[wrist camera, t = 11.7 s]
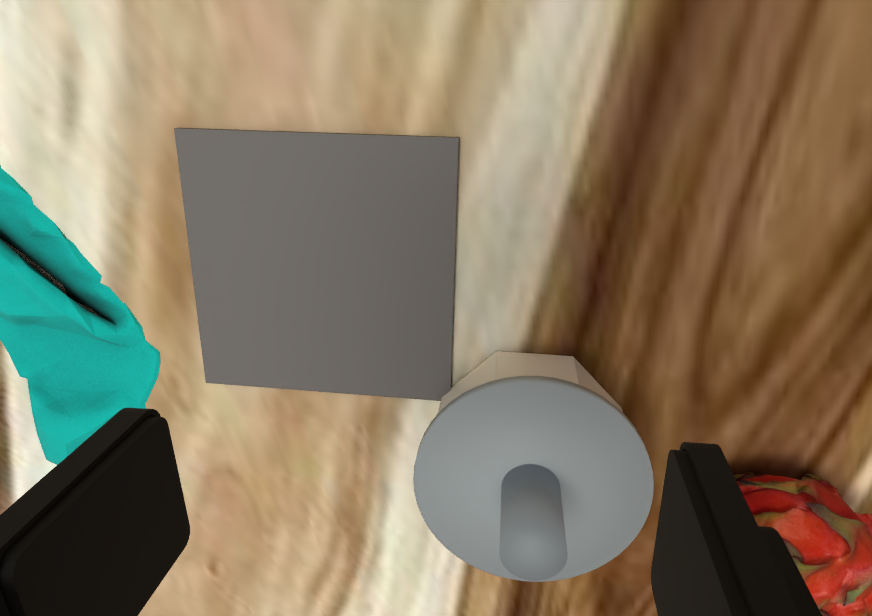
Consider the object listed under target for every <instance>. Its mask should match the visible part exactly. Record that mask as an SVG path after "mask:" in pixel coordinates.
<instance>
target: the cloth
mask: <svg viewBox="0 0 872 616" xmlns="http://www.w3.org/2000/svg"><path fill="white" fill-rule="evenodd" d="M1 239H2V240H4V241H6V242H7V243H9V244H10V245H12V246H13V247H15V248H16V249H18V250H19V251H20V252H22V253H23V254H24V255H25V256H27V257H28V258H29V259H31V260H32V261H33V262H34V263H36V264H37V265H38V266H39V267H41V268H42V269H43V270H44V271H46V272H47V273H48V274H50V275H51V276H52V277H53V278H55V279H56V280H57V281H58V282H60V283H61V284H62V285H63V286H64V288H65V290H66V293H67V295H68V296H67V295H65V294H64V293H63V292H62V291H61V290H60V289H59V288H58V287H57V286H56V285H55V284H54V283H53V282H52V281H51V280H50V279H49V278H47V277H46V276H45V275H44V274H42V273H41V272H40V271H39V270H37V269H36V268H35V267H34V266H32V265H31V264H30V263H28V262H27V261H26V260H25V259H23V258H22V257H21V256H20V255H18V254H17V253H16V252H15V251H14V250H12V249H11V248H10V247H9V246H8V245H7V244H6V243H5V242H3V241H2V240H1ZM101 277H102V276H101V275H100V274H99V273H98V271H97V270H96V269H95V268H94V267H93V266H92V265H91V264H90V263H89V262H88V261H87V259H86V258H85V257H84V256H83V255H82V254H81V253H80V251H79V250H78V249H77V247H76V246H75V245H74V243H72V242H71V241H69V240H68V239H66V238H65V237H64V236H63V234H62V233H61V231H60V230H59V228H58V227H57V226H56V224H55V223H54V222H53V221H52V220H50V219H49V218H48V217H47V216H46V215H45V214H44V213H42V212H41V211H40V210H39V209H38V208H37V207H36V206H34V205H33V201H32V197H31V196H30V195H29V194H28V193H27V192H26V191H25V190H24V189H23V188H22V187H21V186H20V185H19V184H18V183H17V182H16V181H15V180H14V179H13V178H12V177H11V176H10V175H9V174H7V173H6V172H5V171H4V170H3V169H1V166H0V340H1V341H2V343H3V345H4V346H5V348H6V349H7V351H8V352H9V354H10V357H11V359H12V361H13V363H14V365H15V367H16V369H17V371H18V373H19V375H20V376H21V377H24V378H27V379H28V387H29V394H30V400H31V406H32V413H33V417H34V422H35V426H36V430H37V434H38V437H39V440H40V443H41V446H42V449H43V451H44V454H45V457H46V459H47V460H48V461H50V462H52V463H54V464H57V465H58V464H59V463H60V462H62V461H63V460H64V459H65V458H66V457H67V456H68V455H70V454H71V453H72V452H73V451H74V450H75V449H76V448H78V447H79V446H80V445H81V444H82V443H83V442H84V441H86V440H87V439H88V438H89V437H90V436H91V435H92V434H94V433H95V432H96V431H97V430H98V429H99V428H100V427H102V426H103V425H104V424H105V423H106V422H107V421H108V420H110V419H111V418H112V417H113V416H114V415H115V414H116V413H118V412H119V411H120V410H122V409H123V408H143V409H146V407H145V403H146V401H147V399H148V397H149V395H150V393H151V391H152V389H153V387H154V384H155V382H156V380H157V377H158V374H159V368H160V363H161V362H160V352H159V351H158V350H157V349H155V348H154V347H153V346H152V345H150V344H149V343H148V342H147V341H146V340H145V336H144V333H143V329H142V327H141V325H140V324H139V322H138V321H137V319H136V318H135V317H134V315H133V314H132V312H131V311H130V310H129V308H128V307H127V305H126V304H125V303H124V304H123V303H122V301H121V300H120V299H119V298H118V297H117V296H116V295H115V293H114V292H113V291H112V290H111V289H110V288H109V287H107V286H105V285H103V284H101V283H100V281H101ZM76 302H78V303H80V304H82V305H85V306H87V307H90V308H91V309H92V310H94V311H95V312H96V313H97V314H98V315H100V316H98V315H96V314H94V313H92V312H89V311H88V310H86V309H85V308H84V307H82V306H81V305H79V304H78V303H76Z"/></svg>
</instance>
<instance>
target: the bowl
mask: <svg viewBox="0 0 872 616" xmlns="http://www.w3.org/2000/svg"><path fill="white" fill-rule="evenodd" d="M516 376H544V377H552V378H557V379H562V380H566V381H570V382H573V383H575V384H578V385H581V386H583V387H586V388H588V389H590V390H592V391H594V392H596V393H598V394H600V395H601V396H603V397H604V398H606V399H607V400H608V401H610V402H611V403H613V404H614V405H615V406H616V407H617V408H618V409H619V410H620V411H622V408H621V407H620V406H619V405H618V404H617V403H616V402H615V400H614V399H613V398H612V397H611V396H610V395H609V394H608V393H607V392H606V391H605V390H604V389H603V388H602V387H601V386H600V384H599V383H598V382H597V381H596V380H595V379H594V378H593V377H592V376H591V375H590V374H589V373H588V372H587V371H586V370H585V369H584V367H583V366H582V365H581V364H580V363H579V362H578V361H577V360H576V359H575V358H574V357H573V356H562V355H547V354H533V353H518V352H503V351H496V352H495V353H494V354H492V355H491V356H490V357H489V358H487V359H486V360H485V361H484V362H482V363H481V364H480V365H479V366H477V367H476V368H475V369H474V370H472V371H471V372H470V373H469V374H467V375H466V376H465V377H464V378H462V379H461V380H460V381H458V382H457V383H456V384H455V385H453V386H452V387H451V390H450V391H449V392H448V393H447V394H445V395H444V396H443V397H442V399H441V403H440V408H439V412H440V411H441V410H442V409H443V408H444V407H445V406H446V405H448V404H449V403H450V402H451V401H452V400H454V399H455V398H457V397H458V396H460V395H461V394H462V393H464V392H466V391H468V390H470V389H472V388H474V387H476V386H479V385H482V384H484V383H487V382H490V381H494V380H498V379H502V378H507V377H516ZM439 412H438V413H439ZM622 412H623V411H622Z"/></svg>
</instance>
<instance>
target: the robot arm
mask: <svg viewBox="0 0 872 616" xmlns="http://www.w3.org/2000/svg"><path fill="white" fill-rule="evenodd" d="M189 535H190V525H189V520H188V515H187V511H186V506H185V501H184V497H183V492H182V487H181V483H180V478H179V473H178V469H177V464H176V459H175V454H174V450H173V445H172V440H171V436H170V431H169V426H168V423H167V421H166V419H165V418H163V417H161V416H160V414H159V413H158V411H156V410H154V409H143V408H123V409H122V410H120V411H119V412H118V413H116V414H115V415H114V416H113V417H112V418H111V419H110V420H108V421H107V422H106V423H105V424H104V425H103V426H102V427H100V428H99V429H98V430H97V431H96V432H95V433H94V434H92V435H91V436H90V437H89V438H88V439H87V440H86V441H84V442H83V443H82V444H81V445H80V446H79V447H78V448H76V449H75V450H74V451H73V452H72V453H71V454H70V455H68V456H67V457H66V458H65V459H64V460H63V461H62V462H60V463H59V464H58V465H57V466H56V467H55V468H54V469H52V470H51V471H50V472H49V473H48V474H47V475H46V476H44V477H43V478H42V479H41V480H40V481H39V482H38V483H36V484H35V485H34V486H33V487H32V488H31V489H30V490H28V491H27V492H26V493H25V494H24V495H23V496H22V497H20V498H19V499H18V500H17V501H16V502H15V503H14V504H12V505H11V506H10V507H9V508H8V509H7V510H6V511H4V512H3V513H2V514H1V515H0V616H138V614H139V613H140V611H141V610H142V609H143V607H144V606H145V604H146V603H147V601H148V600H149V599H150V597H151V596H152V594H153V593H154V591H155V590H156V588H157V587H158V586H159V584H160V583H161V581H162V580H163V578H164V577H165V576H166V574H167V573H168V571H169V570H170V568H171V567H172V565H173V564H174V563H175V561H176V560H177V558H178V557H179V555H180V554H181V552H182V551H183V550H184V548H185V546H186V545H187V542H188V540H189ZM651 582H652V590H653V595H654V599H655V604H656V608H657V612H658V616H822V614H821V612H820V610H819V608H818V606H817V604H816V602H815V600H814V599H813V597H812V595H811V593H810V591H809V589H808V587H807V585H806V583H805V581H804V579H803V577H802V575H801V573H800V572H799V570H798V568H797V566H796V564H795V562H794V560H793V558H792V556H791V554H790V552H789V550H788V548H787V546H786V545H785V543H784V541H783V539H782V537H781V536H780V534H779V533H778V531H777V530H776V529H774V528H773V527H764V526H758V525H757V523H756V521H755V519H754V516H753V514H752V512H751V510H750V508H749V506H748V504H747V502H746V500H745V498H744V496H743V494H742V491H741V489H740V487H739V485H738V483H737V481H736V479H735V477H734V475H733V473H732V471H731V469H730V466H729V464H728V462H727V460H726V458H725V456H724V454H723V452H722V450H721V448H720V447H719V445H717V444H705V443H689V442H683V443H682V444H681V447H680V450H670V452H669V455H668V460H667V467H666V474H665V481H664V487H663V494H662V501H661V507H660V514H659V521H658V528H657V534H656V541H655V548H654V555H653V561H652V569H651Z"/></svg>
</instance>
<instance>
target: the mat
mask: <svg viewBox="0 0 872 616" xmlns="http://www.w3.org/2000/svg"><path fill="white" fill-rule="evenodd" d="M174 131H175V139H176V147H177V155H178V163H179V171H180V179H181V187H182V195H183V203H184V211H185V219H186V227H187V235H188V243H189V251H190V259H191V267H192V275H193V283H194V291H195V299H196V307H197V315H198V323H199V331H200V339H201V347H202V355H203V363H204V371H205V379H206V383H215V384H228V385H241V386H254V387H267V388H280V389H293V390H306V391H319V392H332V393H345V394H358V395H371V396H384V397H397V398H410V399H423V400H436V401H441V399H442V397H443V396H444V395H445V394H447V393H448V392H449V391H450V390H451V370H452V340H453V310H454V280H455V249H456V219H457V189H458V159H459V137H438V136H407V135H377V134H347V133H317V132H287V131H257V130H227V129H197V128H174Z"/></svg>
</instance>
